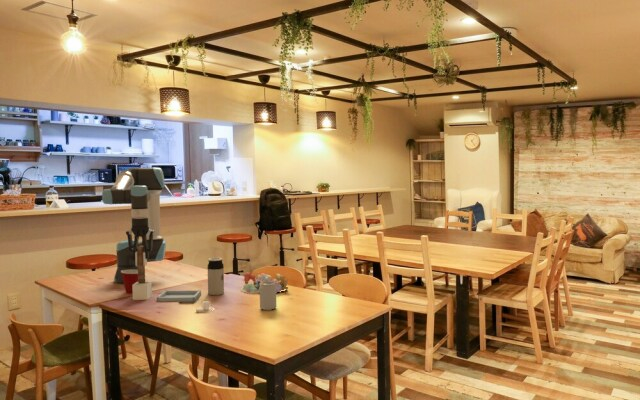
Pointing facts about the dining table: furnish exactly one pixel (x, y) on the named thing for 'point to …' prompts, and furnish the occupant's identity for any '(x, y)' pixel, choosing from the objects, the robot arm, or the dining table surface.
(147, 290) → the square open box
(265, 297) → the can
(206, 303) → the cream curved piece
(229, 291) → the dining table surface
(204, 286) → the dining table surface
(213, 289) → the travel mug
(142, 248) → the dowel
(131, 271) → the plastic cup
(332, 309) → the dining table surface
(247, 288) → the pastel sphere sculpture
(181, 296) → the tray
